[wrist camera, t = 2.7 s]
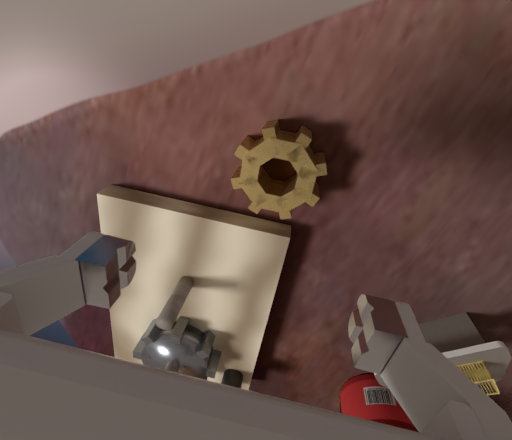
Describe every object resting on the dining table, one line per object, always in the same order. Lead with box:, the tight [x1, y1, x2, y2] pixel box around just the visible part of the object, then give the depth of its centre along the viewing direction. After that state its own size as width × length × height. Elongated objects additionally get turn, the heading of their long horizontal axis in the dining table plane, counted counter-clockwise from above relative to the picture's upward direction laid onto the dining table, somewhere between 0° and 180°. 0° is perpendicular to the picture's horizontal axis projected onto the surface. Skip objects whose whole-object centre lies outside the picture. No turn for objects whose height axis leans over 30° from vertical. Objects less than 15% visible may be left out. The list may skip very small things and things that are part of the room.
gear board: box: [97, 185, 291, 390], centre depth 27 cm, size 16×22×8 cm
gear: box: [133, 316, 222, 380], centre depth 30 cm, size 8×8×2 cm
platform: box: [374, 312, 511, 396], centre depth 25 cm, size 12×18×7 cm, turn 122°
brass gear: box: [231, 120, 327, 219], centre depth 21 cm, size 6×6×3 cm
